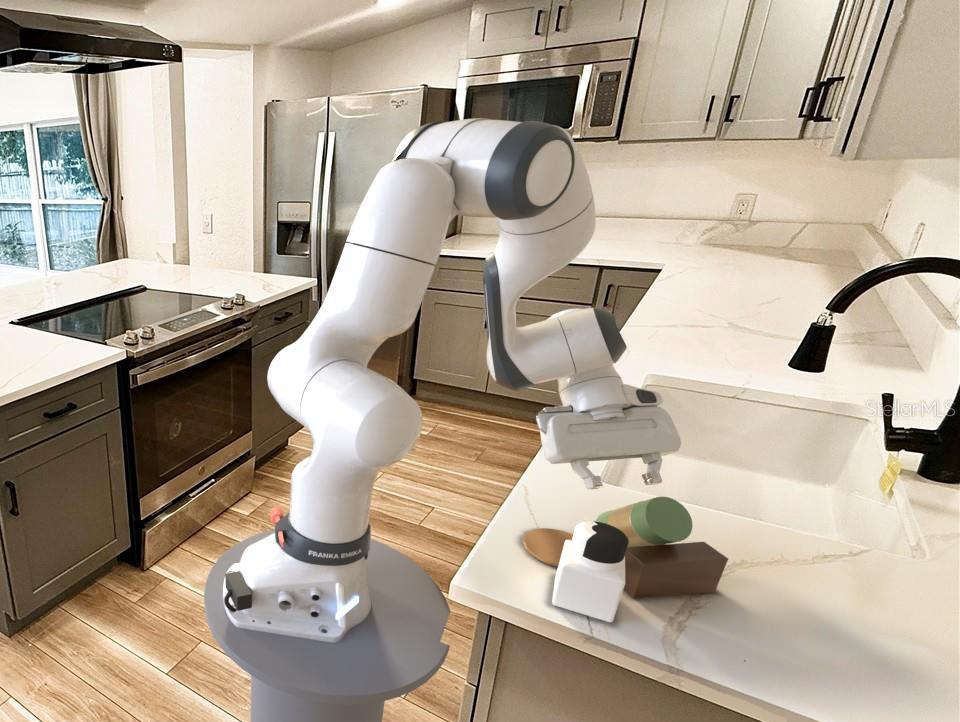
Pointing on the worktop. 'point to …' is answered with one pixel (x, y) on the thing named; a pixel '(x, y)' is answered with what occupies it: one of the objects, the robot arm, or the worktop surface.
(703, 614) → the worktop surface
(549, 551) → the cork coaster
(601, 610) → the medicine bottle
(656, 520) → the tin can
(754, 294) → the worktop surface
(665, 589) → the brown rectangular block
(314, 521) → the robot arm
